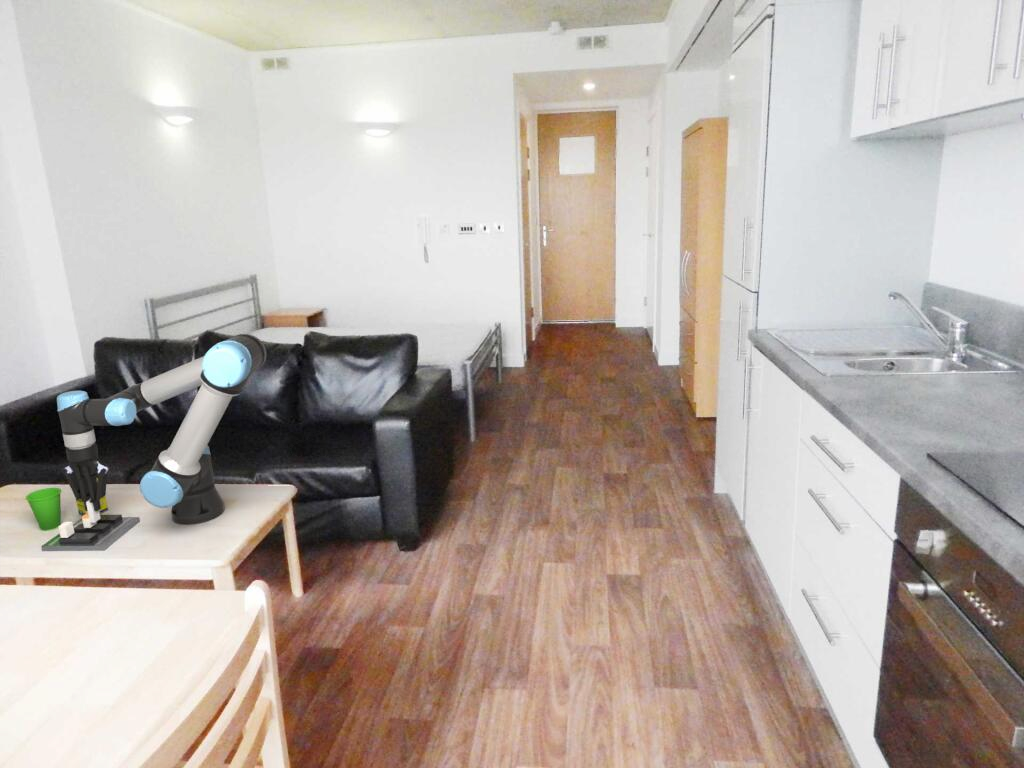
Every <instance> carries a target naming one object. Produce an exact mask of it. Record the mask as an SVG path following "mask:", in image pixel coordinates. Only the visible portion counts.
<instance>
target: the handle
mask: <svg viewBox="0 0 1024 768" xmlns="http://www.w3.org/2000/svg"><path fill="white" fill-rule="evenodd" d="M73 524H74V522H73V521H64V522H63V523H61V524H60V526H59V527H58V533H60V537H61V538H68V537H69V536H71V535H72V534H74V528H73Z"/></svg>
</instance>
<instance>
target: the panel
mask: <svg viewBox="0 0 1024 768" xmlns="http://www.w3.org/2000/svg"><path fill="white" fill-rule="evenodd" d="M139 523H140V516H135V517H134V516H124V517H123V515H122V514H100V519H99V520H98V521H97V524H95V525H94V526H93V527H91V528H84V525H83V520H82V517H80V518H79V519H78V520H77V521H75V522H73V528H74V534H72V535H71V536H69V537H68V538H61V537H60V532H58V534H57V535H55V536H54V537H52V538H50V539H49V540H48V541H46V542H45V543H44V544H42V545H41V546H40V547H41V551H42V552H75V551H76V552H86V551H87V552H88V551H89V552H90V551H98V552H99V551H106V550H107V549H108V548H110V547H111V546H112V545H113V544H114V543H116V542H117V541H118V540H119V539H121V537H123V536H124V535H126V533H128V532H129V531H130V530H131V529H132V528H133V527H135V526H136V525H137V524H139Z"/></svg>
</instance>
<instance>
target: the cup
mask: <svg viewBox="0 0 1024 768" xmlns="http://www.w3.org/2000/svg"><path fill="white" fill-rule="evenodd" d="M61 493H62V489H61V488H58V487H47V488H41V489H39V490H35V491H32V492H30V493H28V494H26V496H25V500H26V501H27V503H28V504H29V507H30V509H31V511H32V514H33V516H34V517H35V519H36V522H37V525H38V526H39V528H40V530H41V531H44V532H45V531H52V530H55V529H57V528H59V526H60V525H61V524H62V521H61V520H62V519H61V515H62V514H61V513H62V511H61V508H62V507H61Z"/></svg>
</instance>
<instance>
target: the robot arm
mask: <svg viewBox="0 0 1024 768" xmlns="http://www.w3.org/2000/svg"><path fill="white" fill-rule="evenodd" d="M266 359H267V350H266V347H265V345H264V343H263V342H262V341H261V340H260V338H258V337H257V336H255V335H252V334H249V333H240V334H237V335H234V336H232V337H230V338H228V339H226V340H223V341H220V342H217V343H216V344H215V345H213V346H212V347H210V348H209V350H208V351H206V353H205V354H204V356H201V357H198V358H196V359H194V360H191V361H190V362H187V363H185V364H182V365H180V366H177V367H175V368H173V369H170V370H168V371H166V372H164V373H163V372H162V373H161V374H158V375H156V376H153V377H151V378H149V379H146V380H144V381H143V382H139V383H137V384H133V385H132V386H131V385H130V386H129V387H128V388H126V389H124V390H122V391H120V392H118V393H116V394H113V395H111V396H110V397H107V398H89V395H88V392H86V391H84V390H70V391H66V392H63V393H61V394H58V395H57V397H56V404H57V405H56V406H57V413H58V418H59V421H60V424H61V425H60V426H61V431H62V438H63V441H64V442H63V443H64V447H65V453H66V457H67V461H68V465H67V466H65V467H64V468H63V469H60V470H61V473H62V474H63V475H64V476H65V478H66V480H67V482H68V484H69V486H70V489H71V491H72V493H73V496H74V498H75V500H76V499H77V500H79V499H80V500H82V501H83V502H84V506H85V510H86V511H88V515H89V520H90V523H95V522H96V521H98V520H99V519H100V515H101V513H99V510H100V509H101V506H100V500H99V499H101V498H103V497H104V496H106V493H107V481H108V472H109V471H110V466H109V465H106V466H104V465H102V464H101V463H102V462H101V461H100V460H99V450H98V444H97V443H96V441H97V440H96V434H95V430H94V426H115V427H120V426H125V425H126V426H127V425H128V426H129V425H131V424H132V423H133V422H134V420H135V419H136V417H137V413H139V412H141V411H143V410H145V409H148V408H150V407H153V406H155V405H157V404H160V403H162V402H165V401H167V400H169V399H171V398H174V397H176V396H177V397H178V395H181V394H183V393H186V392H188V391H191V390H194V389H195V388H198V387H200V388H199V390H198V392H197V393H196V395H195V397H194V400H193V401H192V402H191V404H190V407H189V409H188V411H187V413H186V415H185V417H184V419H183V421H182V423H181V424H180V427H179V428H178V430H177V432H176V435H175V436H174V438H173V440H172V442H171V444H170V446H169V447H168V448H167V449H165V450H162V451H161V452H160V454H159V455H158V457H157V459H156V460H155V462H154V464H153V466H152V467H151V470H150V471H148V472H146V473H145V474H144V475H143V477H142V478H141V480H140V482H139V483H140V484H139V490H140V493H141V494H142V496H143V499H144V500H145V501H146V502H147V503H149V504H150V505H152V506H153V507H157V508H160V509H166V508H171V511H170V516H171V520H172V522H174V523H176V524H179V525H192V524H193V525H194V524H200V523H205V522H209V521H211V520H213V519H215V518H217V517H219V516H221V514H223V512H224V511H225V504H224V501H223V498H222V497H221V495H220V493H219V491H218V490H217V488H216V484H215V478H214V471H213V464H212V454H211V452H210V447H209V445H208V444H209V442H210V441H211V438H212V436H213V435H214V433H215V431H216V428H217V427H218V425H219V424H220V421H221V420H222V417H223V415H224V414H225V412H226V410H227V408H228V407H229V404H230V402H231V401H232V399H233V397H235V396H239V395H240V394H242V392H243V390H244V388H245V386H246V384H247V383H248V381H249V379H250V378H251V376H252V375H253V374H254V373H256V372H258V371H259V370H260V369H261V368H263V365H264V363H265V362H266ZM97 478H98V483H97ZM90 498H91V499H90Z"/></svg>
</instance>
